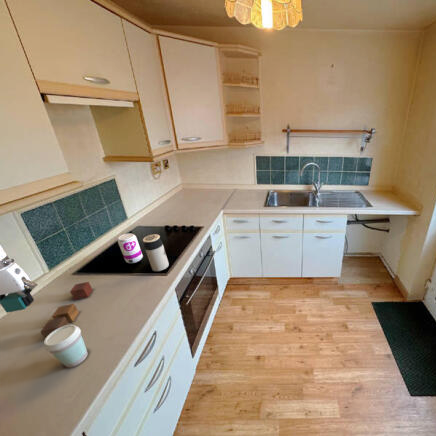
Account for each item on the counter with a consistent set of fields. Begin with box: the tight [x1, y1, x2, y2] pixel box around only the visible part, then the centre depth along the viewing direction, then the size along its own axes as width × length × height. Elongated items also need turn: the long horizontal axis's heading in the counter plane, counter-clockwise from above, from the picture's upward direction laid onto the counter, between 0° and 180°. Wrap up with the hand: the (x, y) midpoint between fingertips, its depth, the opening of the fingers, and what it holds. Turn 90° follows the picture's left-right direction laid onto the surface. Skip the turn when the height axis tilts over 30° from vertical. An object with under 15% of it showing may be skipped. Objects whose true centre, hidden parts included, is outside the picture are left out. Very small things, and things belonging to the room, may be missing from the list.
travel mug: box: [142, 233, 170, 272], centre depth 117 cm, size 8×8×18 cm
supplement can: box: [117, 232, 144, 264], centre depth 125 cm, size 8×8×15 cm
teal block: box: [0, 290, 28, 314], centre depth 82 cm, size 5×5×5 cm
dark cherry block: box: [69, 281, 93, 301], centre depth 102 cm, size 5×5×5 cm
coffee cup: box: [43, 324, 89, 368], centre depth 74 cm, size 8×9×12 cm
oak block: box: [51, 303, 80, 324], centre depth 90 cm, size 5×5×5 cm
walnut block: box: [40, 317, 71, 340], centre depth 84 cm, size 5×5×5 cm
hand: (20, 305), depth 83 cm, fingers closed on teal block, 5 cm apart
